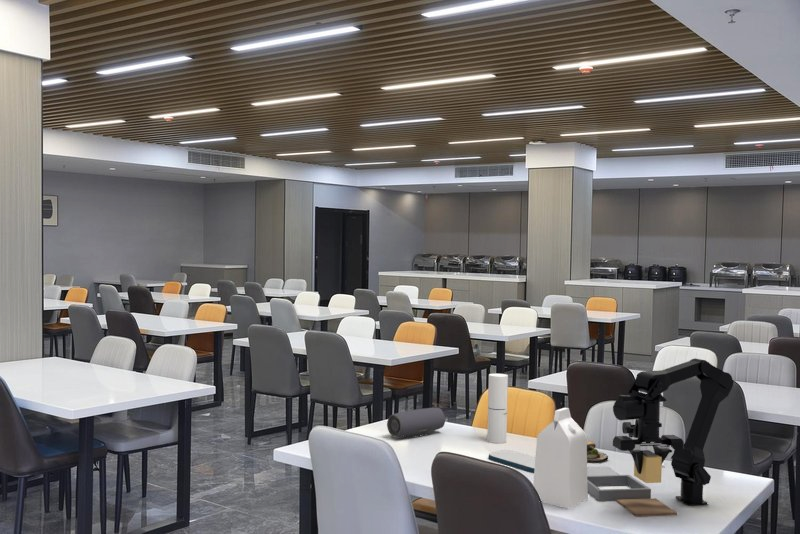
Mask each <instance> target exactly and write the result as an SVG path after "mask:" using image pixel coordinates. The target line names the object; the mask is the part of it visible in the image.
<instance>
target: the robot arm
mask: <svg viewBox="0 0 800 534" xmlns="http://www.w3.org/2000/svg"><path fill="white" fill-rule="evenodd" d="M694 377H695V378H696V379H697V380H699V381H700V384H699V390H700V394H701V398H700V401H699V404H698V406H697V409H696V411H695V415H694V418H693V421H692V422H691V423H692V424H691V426H690V429H689V432H688V435H687V437H686V440H685V442H684V440H683V439H682V438H680V437H679V436H677V435H675V434H663V435H661V437H660V428H662V425H663V424H662V422H660V417H661V416H660V413H661V402H662V403H663V402H664V403H665V402H667V398H666V397H664V396H663V393H665V392H666V391H668V389H669V388H670V386H672V385H674V384H676V383H680V382H683V381H686V380H688V379H691V378H694ZM734 382H735V381H734V379H733V376H732V374H730V373H729V372H725V371H724V370H722V369H720V368H718V367H716V366H714V365H713V364H712V363H710V362H709V361H707V360H706V359H705V360H704V359H699V358H692V359H690V360H688V361H686V362H682V363H679V364H677V365H674V366H671V367H667V368H664V369H662V370H661V369H660V370H645V371H644V370H643V371H640V372H638V373H637V374H636V377H635V379H634V380H633V382H632V384H631V386H630V387H629V389H628V391H627V392H626V395H624V394H619V395H618V397H617V399H616V400H615V401H614V404H613V406H612V412H613V415H614V417H615V418H616V420H619V421H624V422H622V426H621V429H622V433H623V435H615V436H614V438H612V446H613V447H615V448H616V449H617V450H619V451H622V452H629V453H630V455H631V456H632V457H631V458H632V460H633V464H634V463H635V466H636V469H637V472H638V473H639V474H641V471H642V461H643V451H641V450H642V449H641V447H652V448H653V453H655V454H657V455H658V456H660V457H662V463H664V461H665V460H666V459H667V457H668V455H669V454H670V453H673V454H672V455H671V457H670V459H671V462H670V464H671V468H672V470H673V473H674V476H675V477H676V478H678V479H680V495H676V496H675V499H677V500H678V501H680V502H681V503H683V504H685V506H699V505H708V502H707V501H705V500H704V496H703V495H704V486H706V485H708V484H710V481H711V480H712V479H711V478H712V475H710V473H708V471H707V470H706V469H705V464H706V459H705V452H704V448H705V444H706V442H707V440H708V437H709V433H710V430H711V428H712V424H713V422H714V419H715V416H716V414H717V411H718V407H719V405H720V403H721V402H723V401H724V400H725V399H726V398H728V397H729V394H730V392H731V391H732V389H733V387H734ZM631 420H635V423H634V424H632V422H631ZM624 434H627V435H628V436H627V435H624ZM633 438H634V439H633ZM671 448H672V449H673V450H672V449H671Z"/></svg>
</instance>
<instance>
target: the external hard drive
mask: <svg viewBox="0 0 800 534" xmlns="http://www.w3.org/2000/svg"><path fill="white" fill-rule="evenodd" d="M535 457H536V456H534V455H529V454H527V453H526V454H525V453H523V452H519V451H514V450H510V449H502V450H498V451H497V450H496V451H493V452H489V453H488V459H489V460H490V461H492V462H495V463H498V464H502V465H506V466H509V467H512V468H514V469H515V468H516V469H518V470H522V471H525V472H529V473H531V474H534V469H535Z"/></svg>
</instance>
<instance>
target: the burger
mask: <svg viewBox="0 0 800 534" xmlns="http://www.w3.org/2000/svg"><path fill="white" fill-rule="evenodd" d="M596 447H597V445H596V443H595V442H593V441H589V440H588V441H587V462H600V461H603V460H607V459H608V460H609V455H607V454H606V453H604V452H601V451H599V450H598V449H596ZM606 458H607V459H606Z"/></svg>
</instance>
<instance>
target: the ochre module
mask: <svg viewBox="0 0 800 534" xmlns="http://www.w3.org/2000/svg"><path fill="white" fill-rule="evenodd" d="M640 450H641V451H643V461H642V471H641V474H639V473H638V472H637V469H636V466H635V463H634V462H633V465H634V466H633V476H634V477H636V478H637V479H639V481H642V482H644V483H645V484H658V483H659V484H660V483H662V469H663V468H662V457H660V456H658V455H657V454H655V453H654V451H651V450H649V449H645V450H644V449H643V450H642V449H640Z"/></svg>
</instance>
